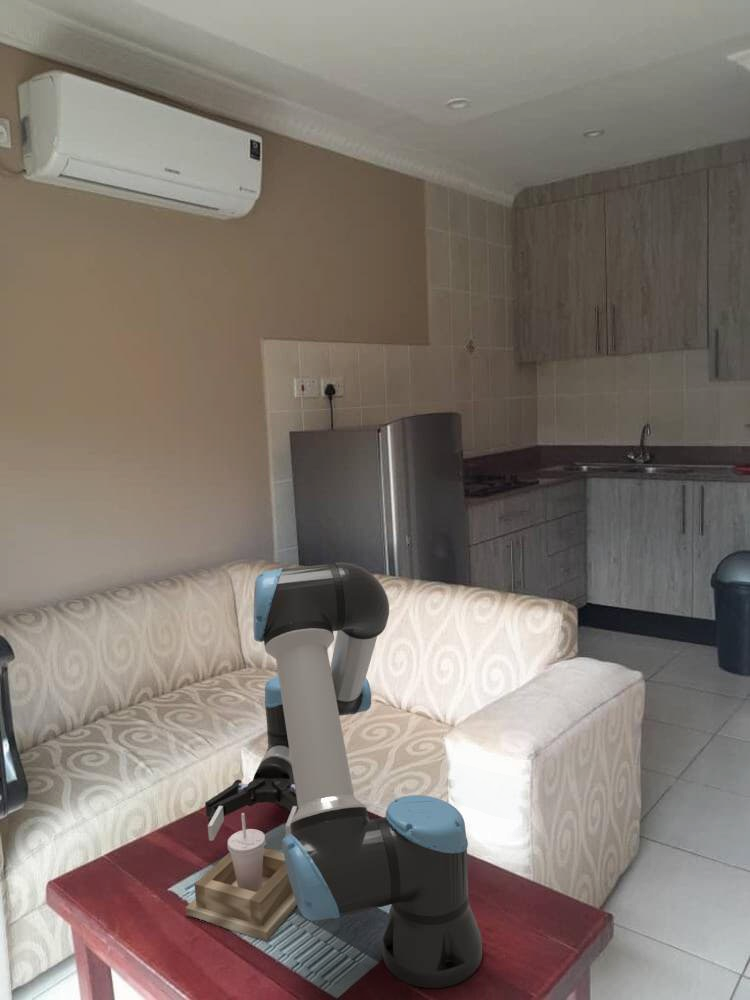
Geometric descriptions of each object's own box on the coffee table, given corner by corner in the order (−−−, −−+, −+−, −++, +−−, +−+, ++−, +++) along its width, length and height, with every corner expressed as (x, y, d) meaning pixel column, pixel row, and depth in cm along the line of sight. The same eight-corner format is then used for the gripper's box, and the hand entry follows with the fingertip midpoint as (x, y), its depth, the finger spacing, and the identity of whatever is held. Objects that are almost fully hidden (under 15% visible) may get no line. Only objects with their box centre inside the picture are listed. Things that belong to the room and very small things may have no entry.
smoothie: (257, 875, 137) (251, 801, 135) (276, 892, 132) (270, 815, 130) (224, 891, 133) (218, 814, 131) (243, 909, 128) (236, 830, 126)
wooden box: (314, 885, 136) (312, 856, 135) (266, 940, 123) (264, 908, 122) (239, 865, 143) (236, 837, 142) (186, 916, 130) (183, 885, 129)
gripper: (339, 791, 154) (322, 854, 133) (216, 791, 156) (180, 853, 135) (337, 755, 153) (319, 813, 132) (213, 755, 155) (176, 812, 134)
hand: (248, 833), depth 133 cm, fingers open, 13 cm apart
